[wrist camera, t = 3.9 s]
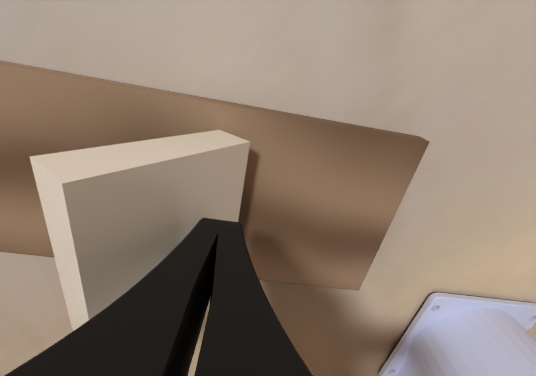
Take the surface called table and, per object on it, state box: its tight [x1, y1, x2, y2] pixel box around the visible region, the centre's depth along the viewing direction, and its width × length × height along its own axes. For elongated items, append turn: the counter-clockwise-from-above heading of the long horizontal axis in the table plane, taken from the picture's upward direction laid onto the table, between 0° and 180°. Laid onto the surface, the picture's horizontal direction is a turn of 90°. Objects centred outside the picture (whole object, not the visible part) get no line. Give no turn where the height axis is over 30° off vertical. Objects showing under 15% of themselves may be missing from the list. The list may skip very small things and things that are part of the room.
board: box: [0, 61, 429, 291], centre depth 12 cm, size 9×20×1 cm, turn 80°
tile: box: [30, 130, 250, 330], centre depth 9 cm, size 6×2×6 cm
